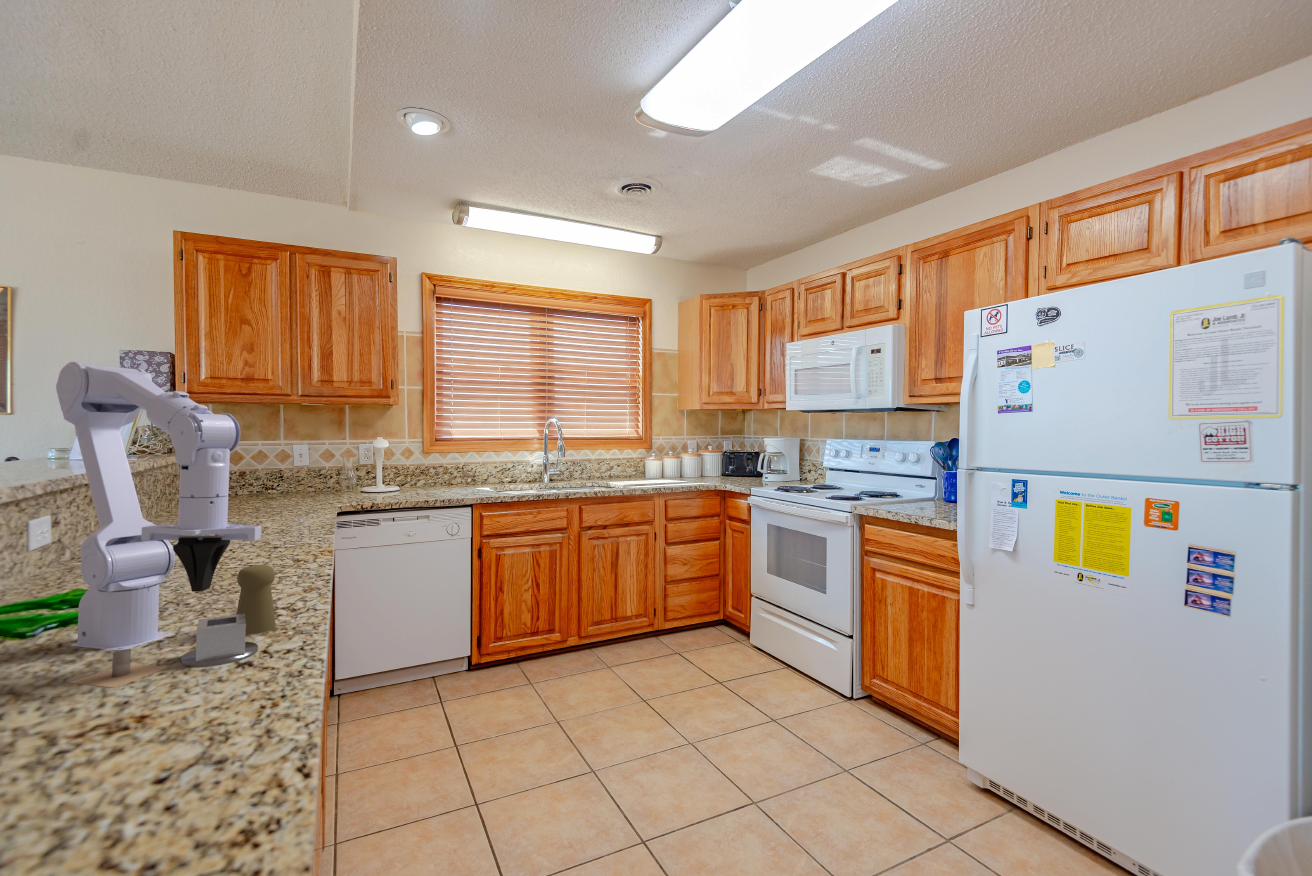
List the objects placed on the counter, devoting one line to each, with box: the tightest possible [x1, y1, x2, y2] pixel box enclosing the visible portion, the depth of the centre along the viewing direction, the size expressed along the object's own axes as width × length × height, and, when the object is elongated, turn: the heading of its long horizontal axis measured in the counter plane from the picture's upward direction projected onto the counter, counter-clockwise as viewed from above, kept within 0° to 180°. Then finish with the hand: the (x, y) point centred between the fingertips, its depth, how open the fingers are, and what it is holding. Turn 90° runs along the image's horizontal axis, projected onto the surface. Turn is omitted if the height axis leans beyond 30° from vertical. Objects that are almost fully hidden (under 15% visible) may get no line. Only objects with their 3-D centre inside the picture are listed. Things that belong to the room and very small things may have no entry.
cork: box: [235, 564, 277, 636], centre depth 98 cm, size 6×6×11 cm
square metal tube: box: [195, 614, 246, 662], centre depth 86 cm, size 6×6×4 cm
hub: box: [180, 641, 259, 668], centre depth 86 cm, size 9×9×4 cm
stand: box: [69, 648, 170, 689], centre depth 79 cm, size 7×7×4 cm
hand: (200, 589), depth 86 cm, fingers closed
